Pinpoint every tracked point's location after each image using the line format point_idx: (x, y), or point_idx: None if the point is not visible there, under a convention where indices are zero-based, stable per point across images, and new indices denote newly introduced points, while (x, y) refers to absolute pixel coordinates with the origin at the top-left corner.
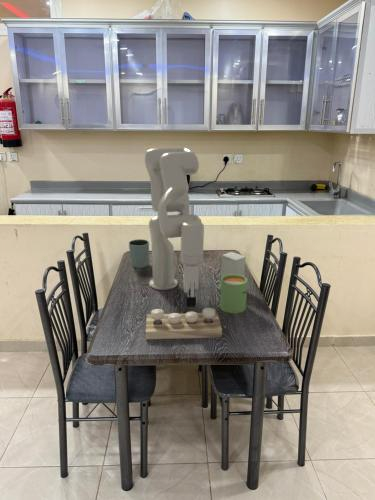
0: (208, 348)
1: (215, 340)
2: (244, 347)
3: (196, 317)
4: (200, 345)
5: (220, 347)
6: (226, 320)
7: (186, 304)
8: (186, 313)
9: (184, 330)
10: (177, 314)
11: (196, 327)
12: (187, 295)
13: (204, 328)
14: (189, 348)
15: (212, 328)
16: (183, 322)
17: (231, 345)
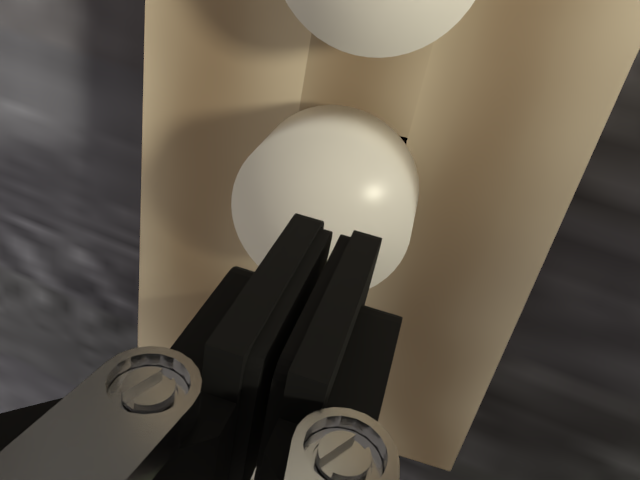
0: (22, 173)
1: (132, 267)
2: (41, 392)
3: (256, 249)
4: (64, 125)
5: (38, 261)
6: (417, 461)
7: (353, 233)
8: (370, 159)
9: (148, 22)
10: (415, 7)
11: (199, 181)
12: (192, 387)
13: (170, 250)
14: (15, 7)
15: (162, 314)
16: (345, 66)
17: (63, 337)
